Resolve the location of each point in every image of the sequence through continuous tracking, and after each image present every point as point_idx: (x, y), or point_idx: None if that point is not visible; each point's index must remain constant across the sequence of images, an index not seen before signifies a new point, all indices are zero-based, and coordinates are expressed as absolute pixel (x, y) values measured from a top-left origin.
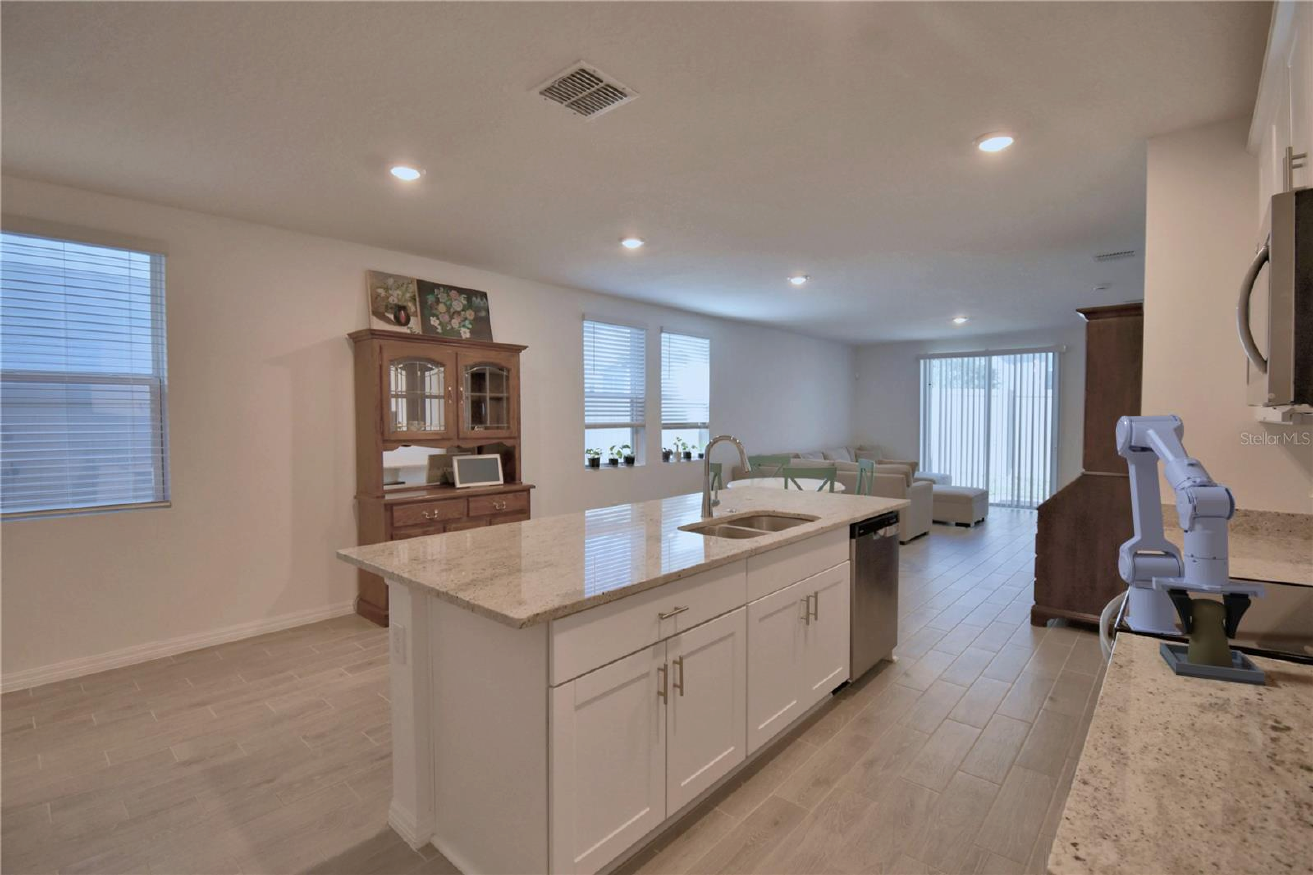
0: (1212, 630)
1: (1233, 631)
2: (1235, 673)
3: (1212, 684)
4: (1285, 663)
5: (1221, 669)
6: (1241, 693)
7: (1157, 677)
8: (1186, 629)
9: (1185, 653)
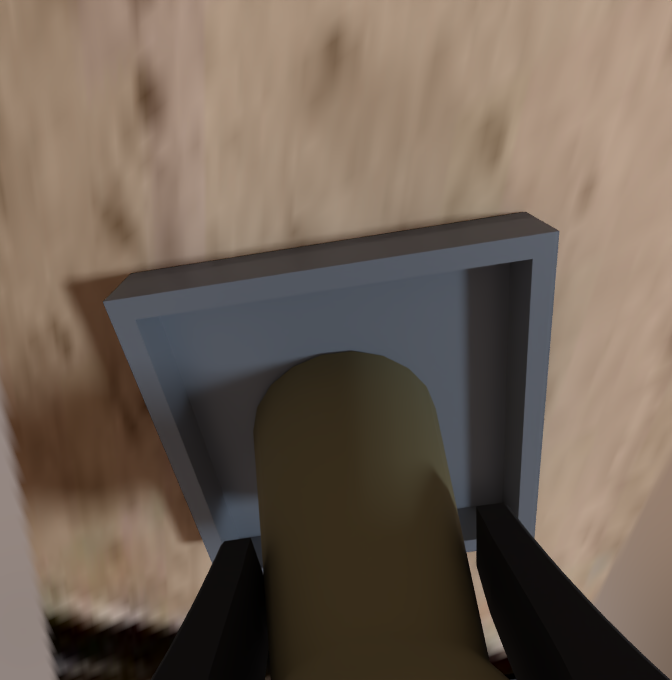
0: (355, 557)
1: (213, 589)
2: (249, 271)
3: (368, 139)
4: (92, 596)
5: (316, 265)
6: (234, 40)
7: (646, 95)
8: (526, 530)
9: None
